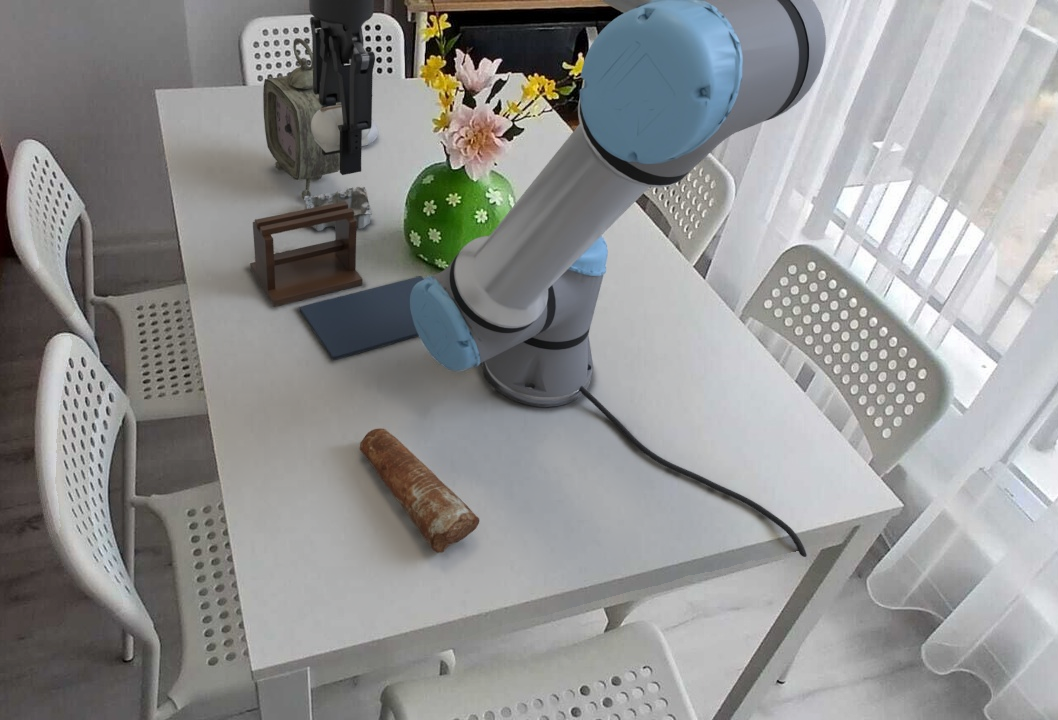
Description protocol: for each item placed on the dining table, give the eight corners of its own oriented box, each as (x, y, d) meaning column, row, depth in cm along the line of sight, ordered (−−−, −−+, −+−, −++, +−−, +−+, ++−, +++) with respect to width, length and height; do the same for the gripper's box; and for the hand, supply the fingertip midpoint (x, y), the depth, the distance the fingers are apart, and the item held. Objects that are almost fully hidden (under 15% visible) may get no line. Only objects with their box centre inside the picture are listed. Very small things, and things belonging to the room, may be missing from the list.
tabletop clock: (266, 166, 159) (259, 27, 142) (312, 157, 163) (311, 20, 146) (301, 207, 150) (298, 63, 134) (349, 196, 154) (352, 55, 138)
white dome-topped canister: (377, 146, 117) (378, 109, 113) (320, 156, 113) (319, 119, 110) (360, 129, 120) (361, 93, 117) (304, 139, 116) (303, 102, 113)
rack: (362, 285, 136) (364, 223, 128) (274, 307, 129) (271, 243, 122) (335, 249, 142) (335, 189, 134) (250, 269, 136) (246, 206, 128)
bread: (434, 566, 98) (438, 534, 95) (351, 453, 110) (352, 421, 106) (481, 543, 101) (486, 511, 98) (395, 435, 113) (398, 403, 109)
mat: (459, 324, 131) (459, 321, 130) (333, 360, 122) (333, 357, 122) (421, 279, 138) (421, 275, 138) (299, 310, 129) (299, 306, 129)
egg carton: (367, 206, 152) (368, 185, 150) (372, 231, 147) (373, 209, 144) (303, 207, 150) (303, 185, 147) (306, 232, 145) (306, 210, 142)
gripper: (281, -42, 107) (288, 137, 122) (344, 10, 96) (344, 200, 111) (338, -46, 111) (338, 128, 126) (406, 4, 99) (397, 189, 114)
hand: (341, 161), depth 118 cm, fingers closed on white dome-topped canister, 5 cm apart
